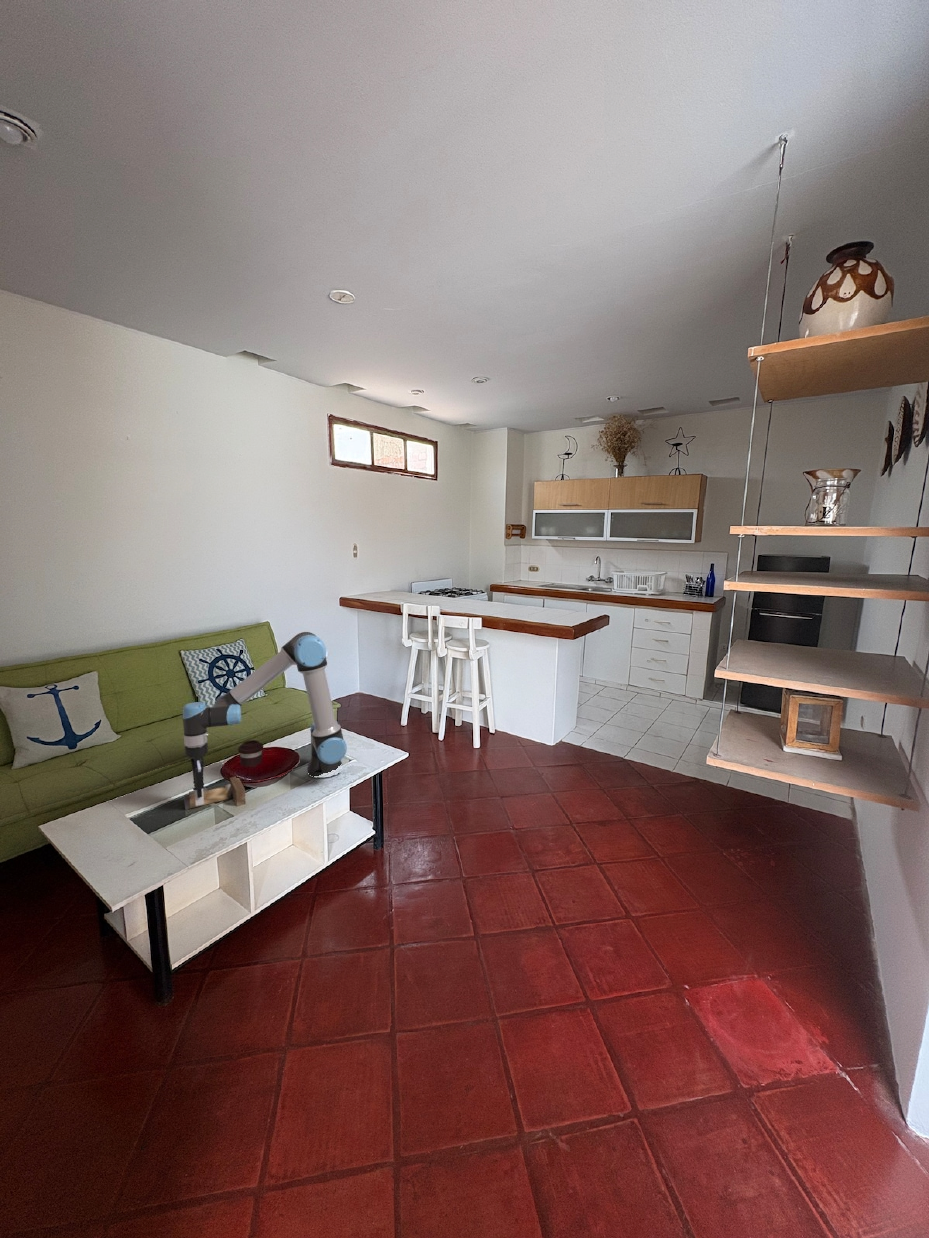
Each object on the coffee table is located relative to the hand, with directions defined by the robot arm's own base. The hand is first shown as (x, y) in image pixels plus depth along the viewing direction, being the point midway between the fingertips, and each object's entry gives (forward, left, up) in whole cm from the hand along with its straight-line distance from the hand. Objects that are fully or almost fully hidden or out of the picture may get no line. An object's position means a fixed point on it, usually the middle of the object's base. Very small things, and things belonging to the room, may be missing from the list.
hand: (199, 804), depth 186 cm
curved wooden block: (-13, 0, -1) cm, 13 cm away
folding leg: (-3, -2, -1) cm, 4 cm away
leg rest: (0, -6, -1) cm, 6 cm away
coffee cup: (-22, -18, -2) cm, 29 cm away
